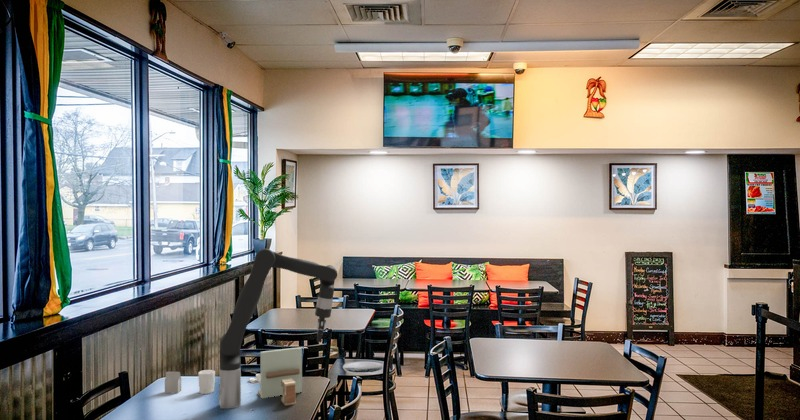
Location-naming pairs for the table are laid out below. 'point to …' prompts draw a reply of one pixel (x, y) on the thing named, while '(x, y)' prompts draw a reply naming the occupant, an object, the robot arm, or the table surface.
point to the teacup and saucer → (258, 378)
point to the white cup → (206, 381)
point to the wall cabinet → (288, 391)
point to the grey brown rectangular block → (172, 382)
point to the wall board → (280, 370)
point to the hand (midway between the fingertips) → (318, 339)
